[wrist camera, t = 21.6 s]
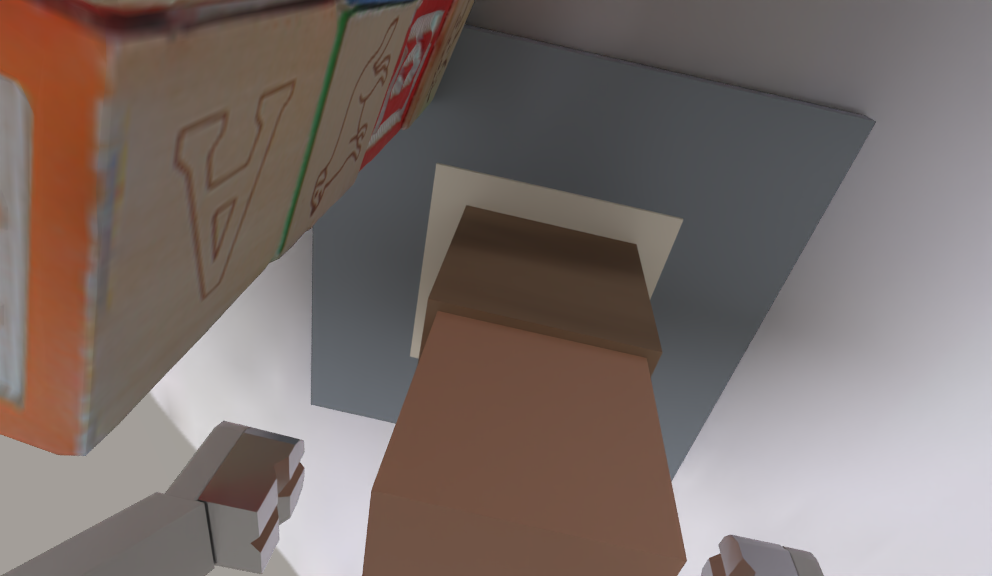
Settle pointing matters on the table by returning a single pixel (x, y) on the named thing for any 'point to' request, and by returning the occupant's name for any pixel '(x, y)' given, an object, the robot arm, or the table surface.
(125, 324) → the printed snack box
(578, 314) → the walnut block
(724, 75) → the table surface
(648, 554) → the terracotta block
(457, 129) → the grey flat square plate
